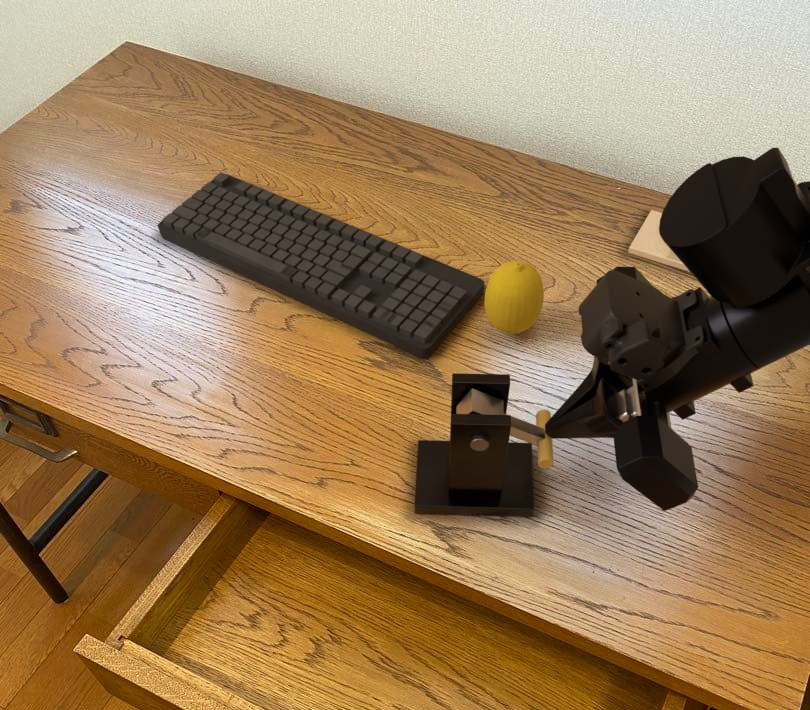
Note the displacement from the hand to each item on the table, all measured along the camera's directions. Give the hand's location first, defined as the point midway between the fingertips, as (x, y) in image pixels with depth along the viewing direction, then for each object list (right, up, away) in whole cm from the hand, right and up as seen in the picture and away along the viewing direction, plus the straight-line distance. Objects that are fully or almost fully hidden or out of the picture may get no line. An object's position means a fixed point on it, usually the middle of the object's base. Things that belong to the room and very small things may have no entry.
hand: (548, 432), depth 58 cm
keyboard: (-21, +21, +22) cm, 37 cm away
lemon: (-1, +12, +16) cm, 20 cm away
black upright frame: (-5, -3, +6) cm, 9 cm away
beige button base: (+19, +23, +21) cm, 36 cm away
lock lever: (-4, 0, 0) cm, 4 cm away
